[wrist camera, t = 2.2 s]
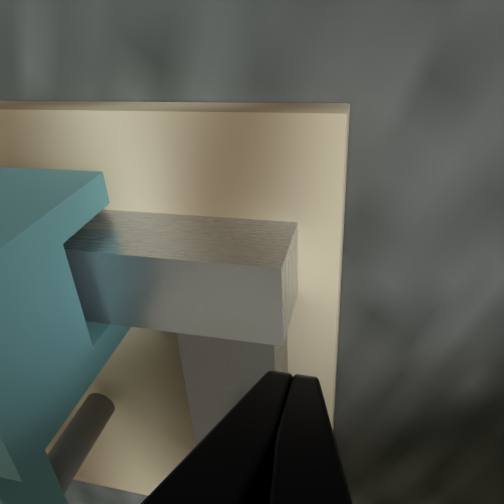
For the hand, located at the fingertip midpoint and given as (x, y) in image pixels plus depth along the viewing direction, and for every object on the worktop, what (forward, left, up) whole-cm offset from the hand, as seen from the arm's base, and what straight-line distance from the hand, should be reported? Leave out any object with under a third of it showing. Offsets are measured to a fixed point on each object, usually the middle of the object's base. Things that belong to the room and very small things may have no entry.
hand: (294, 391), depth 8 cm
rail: (+9, 0, -5) cm, 10 cm away
